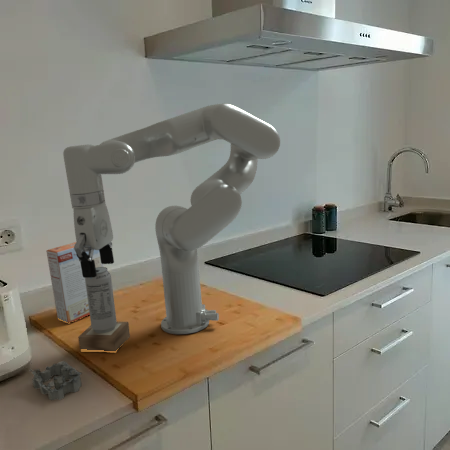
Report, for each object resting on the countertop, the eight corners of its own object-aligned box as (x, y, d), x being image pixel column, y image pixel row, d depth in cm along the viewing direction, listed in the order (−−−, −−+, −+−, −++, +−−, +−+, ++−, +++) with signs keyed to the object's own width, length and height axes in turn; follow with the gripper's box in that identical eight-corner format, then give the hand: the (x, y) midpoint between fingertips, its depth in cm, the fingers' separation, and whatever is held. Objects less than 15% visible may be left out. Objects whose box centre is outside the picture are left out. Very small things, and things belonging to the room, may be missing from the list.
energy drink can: (119, 322, 119) (112, 265, 116) (113, 333, 113) (106, 273, 110) (96, 324, 119) (88, 267, 116) (88, 334, 113) (80, 274, 110)
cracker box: (97, 304, 144) (88, 237, 140) (109, 308, 140) (101, 239, 136) (56, 320, 134) (45, 249, 129) (68, 325, 130) (57, 251, 126)
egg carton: (29, 386, 101) (26, 368, 100) (63, 372, 106) (60, 355, 105) (51, 405, 93) (48, 386, 92) (86, 389, 98) (83, 370, 97)
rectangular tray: (130, 336, 120) (128, 321, 120) (115, 353, 112) (113, 337, 111) (97, 335, 122) (95, 320, 121) (80, 352, 114) (78, 336, 113)
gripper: (85, 206, 100) (98, 282, 104) (118, 192, 117) (127, 258, 121) (53, 208, 102) (66, 283, 106) (89, 193, 118) (100, 259, 122)
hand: (99, 270), depth 113 cm, fingers open, 9 cm apart
